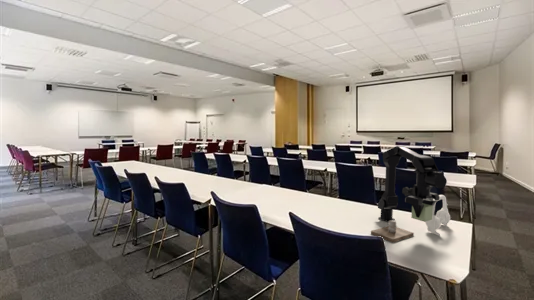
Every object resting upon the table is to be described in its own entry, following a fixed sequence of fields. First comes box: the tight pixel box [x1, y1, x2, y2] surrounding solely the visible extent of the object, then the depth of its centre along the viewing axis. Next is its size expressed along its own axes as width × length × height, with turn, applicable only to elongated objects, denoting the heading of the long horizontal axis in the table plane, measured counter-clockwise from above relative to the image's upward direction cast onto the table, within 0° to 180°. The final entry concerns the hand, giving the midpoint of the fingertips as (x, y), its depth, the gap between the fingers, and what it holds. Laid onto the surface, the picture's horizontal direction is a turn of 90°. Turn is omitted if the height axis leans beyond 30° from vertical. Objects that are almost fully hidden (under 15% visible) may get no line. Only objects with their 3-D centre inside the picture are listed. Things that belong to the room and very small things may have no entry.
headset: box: [424, 194, 451, 236], centre depth 137 cm, size 20×7×18 cm, turn 130°
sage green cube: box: [410, 203, 433, 223], centre depth 125 cm, size 6×6×7 cm
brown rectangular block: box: [370, 220, 415, 243], centre depth 130 cm, size 16×12×7 cm
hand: (421, 216), depth 125 cm, fingers closed on sage green cube, 6 cm apart
